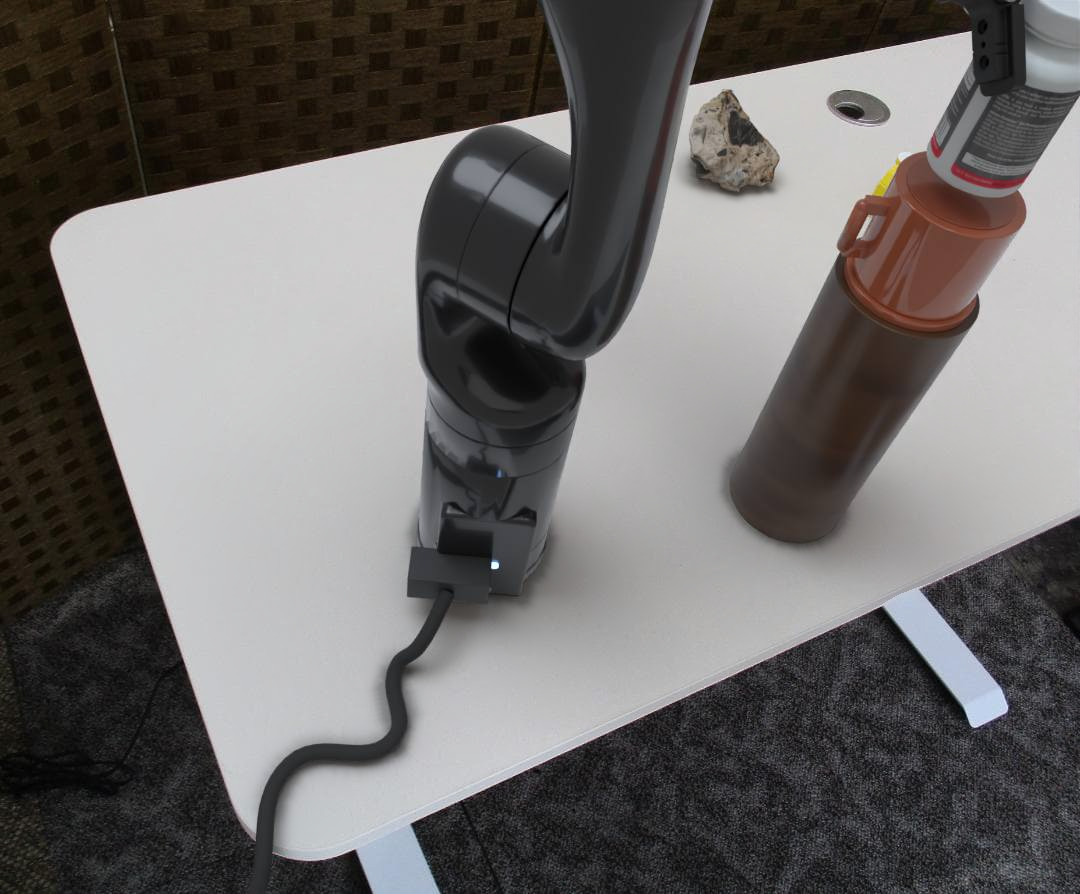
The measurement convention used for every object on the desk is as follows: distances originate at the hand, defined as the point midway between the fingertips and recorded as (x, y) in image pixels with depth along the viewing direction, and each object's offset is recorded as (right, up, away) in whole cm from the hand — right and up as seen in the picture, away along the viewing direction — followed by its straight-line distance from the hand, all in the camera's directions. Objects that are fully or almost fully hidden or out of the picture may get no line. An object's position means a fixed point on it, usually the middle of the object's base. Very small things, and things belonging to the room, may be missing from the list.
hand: (1054, 87), depth 48 cm
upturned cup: (-2, -7, +13) cm, 15 cm away
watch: (+11, +7, +55) cm, 56 cm away
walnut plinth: (-5, -21, +31) cm, 38 cm away
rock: (-6, +10, +55) cm, 56 cm away
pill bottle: (-1, -2, +6) cm, 7 cm away
